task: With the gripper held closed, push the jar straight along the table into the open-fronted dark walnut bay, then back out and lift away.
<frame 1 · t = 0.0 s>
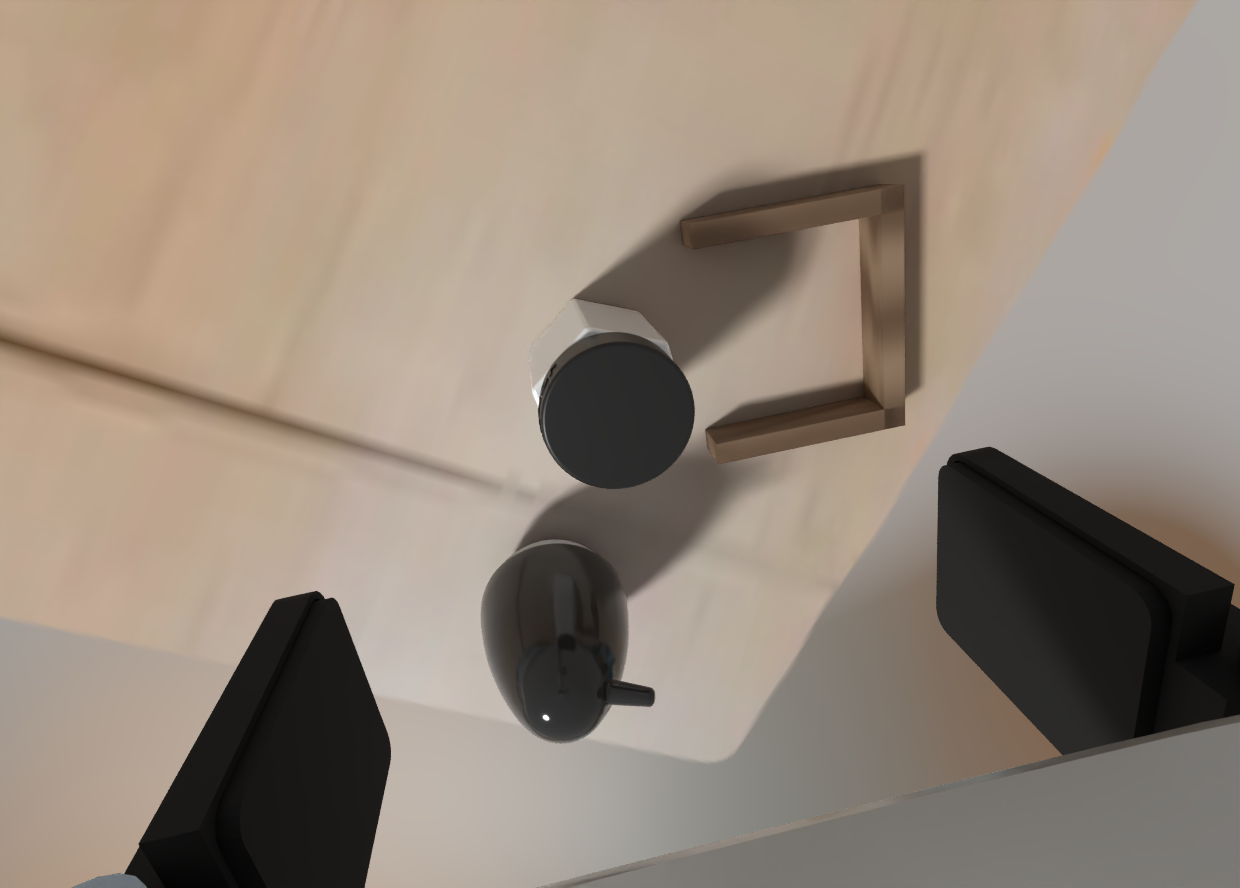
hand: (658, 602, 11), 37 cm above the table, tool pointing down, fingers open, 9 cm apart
pump dispenser: (552, 577, 53), on the table
jar: (593, 360, 47), on the table
walnut bay: (778, 325, 48), on the table
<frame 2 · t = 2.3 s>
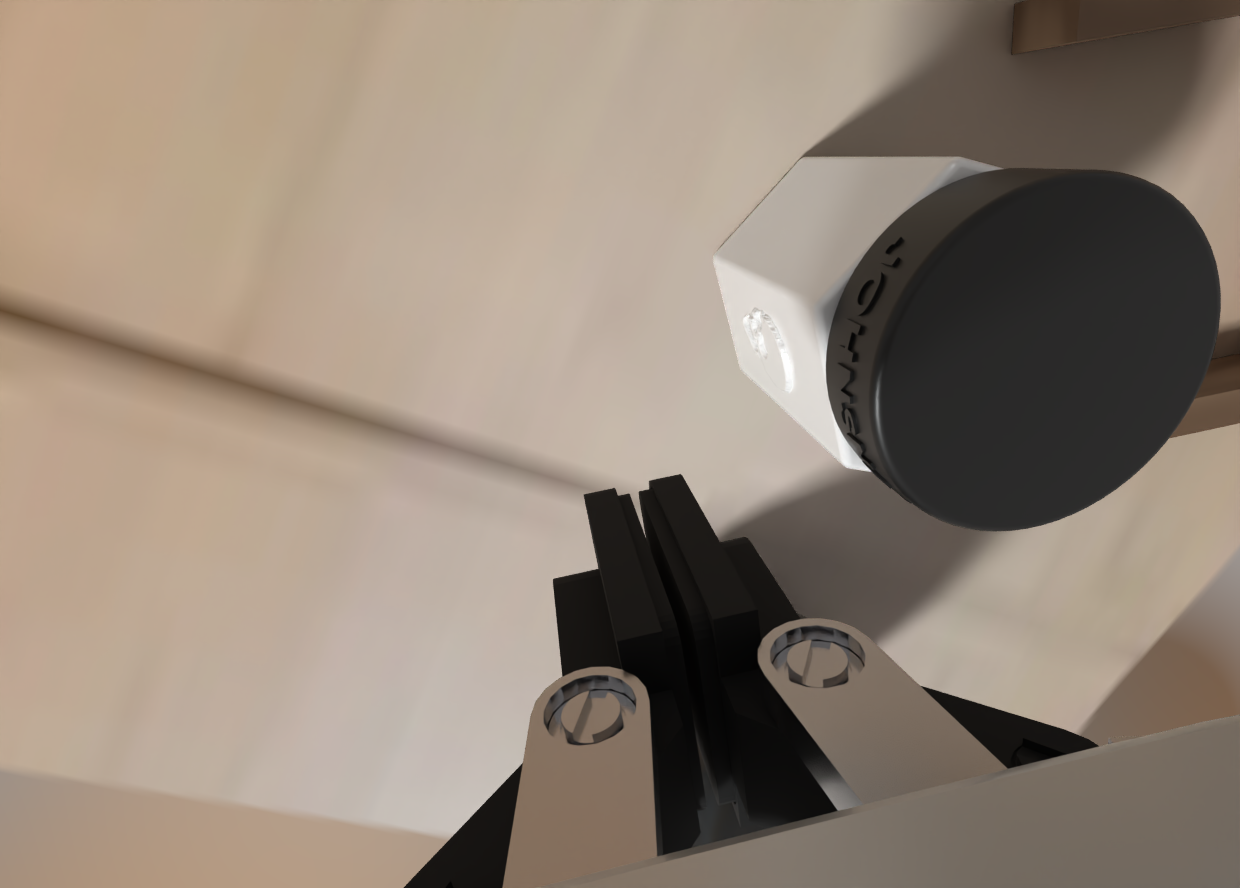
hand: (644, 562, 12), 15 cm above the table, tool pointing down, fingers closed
pump dispenser: (711, 649, 32), on the table
jar: (821, 279, 26), on the table
walnut bay: (1146, 219, 27), on the table
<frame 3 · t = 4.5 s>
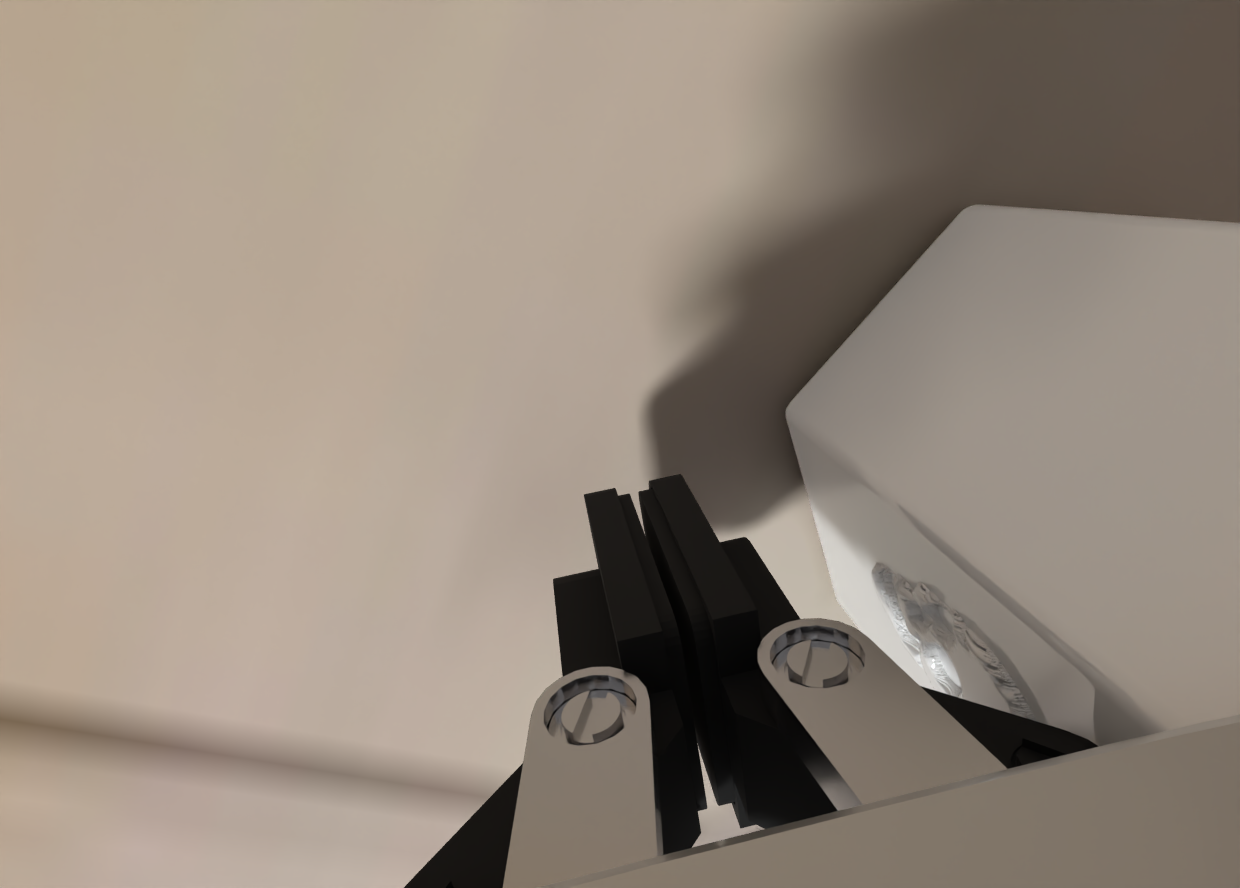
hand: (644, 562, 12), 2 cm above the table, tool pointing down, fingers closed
jar: (987, 429, 14), on the table, touching gripper
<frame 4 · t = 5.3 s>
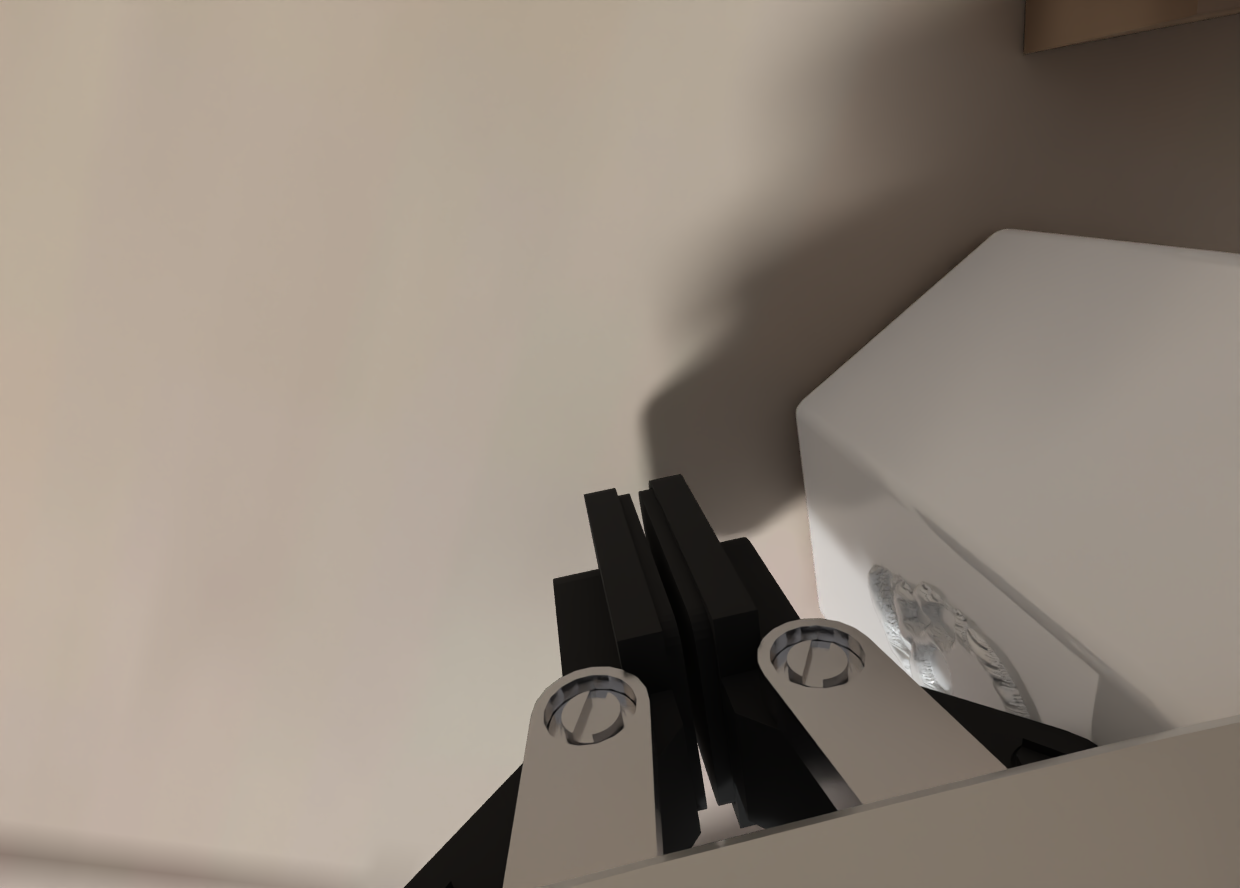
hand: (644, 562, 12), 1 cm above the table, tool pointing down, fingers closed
jar: (987, 457, 14), on the table, touching gripper
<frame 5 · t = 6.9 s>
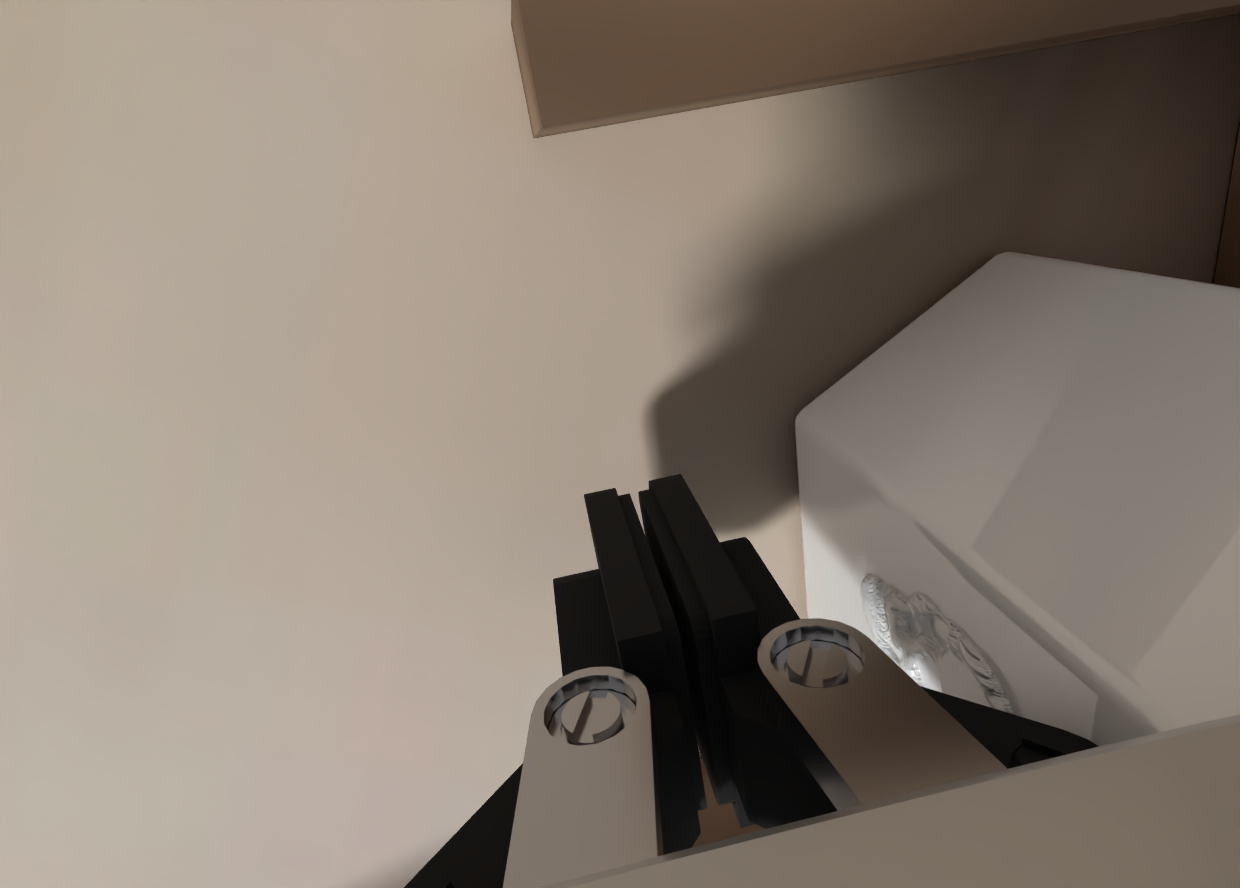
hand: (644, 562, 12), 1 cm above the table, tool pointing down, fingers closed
jar: (977, 474, 14), on the table, touching gripper
walnut bay: (911, 447, 13), on the table
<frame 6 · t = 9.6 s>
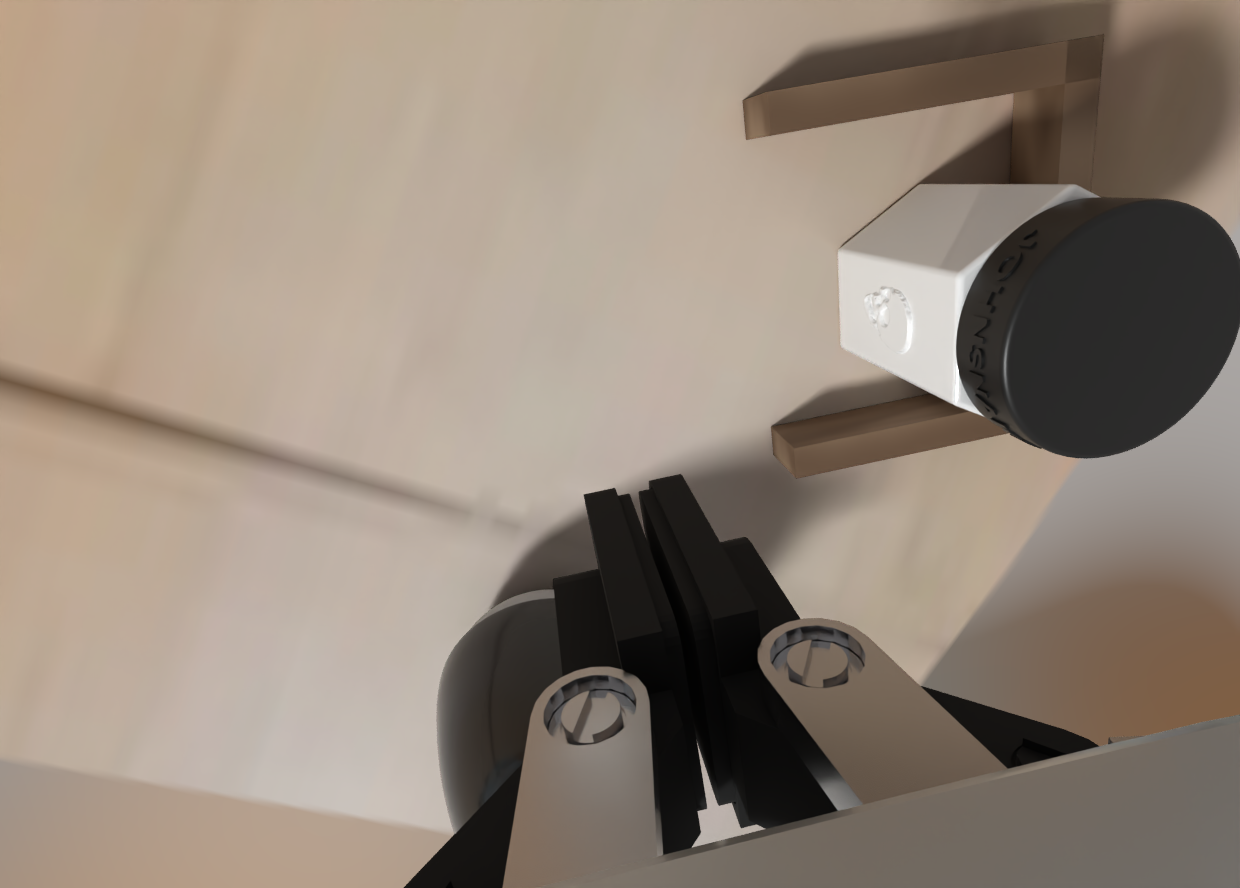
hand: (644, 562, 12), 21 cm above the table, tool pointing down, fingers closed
pump dispenser: (547, 640, 37), on the table
jar: (914, 284, 33), on the table
walnut bay: (885, 270, 32), on the table
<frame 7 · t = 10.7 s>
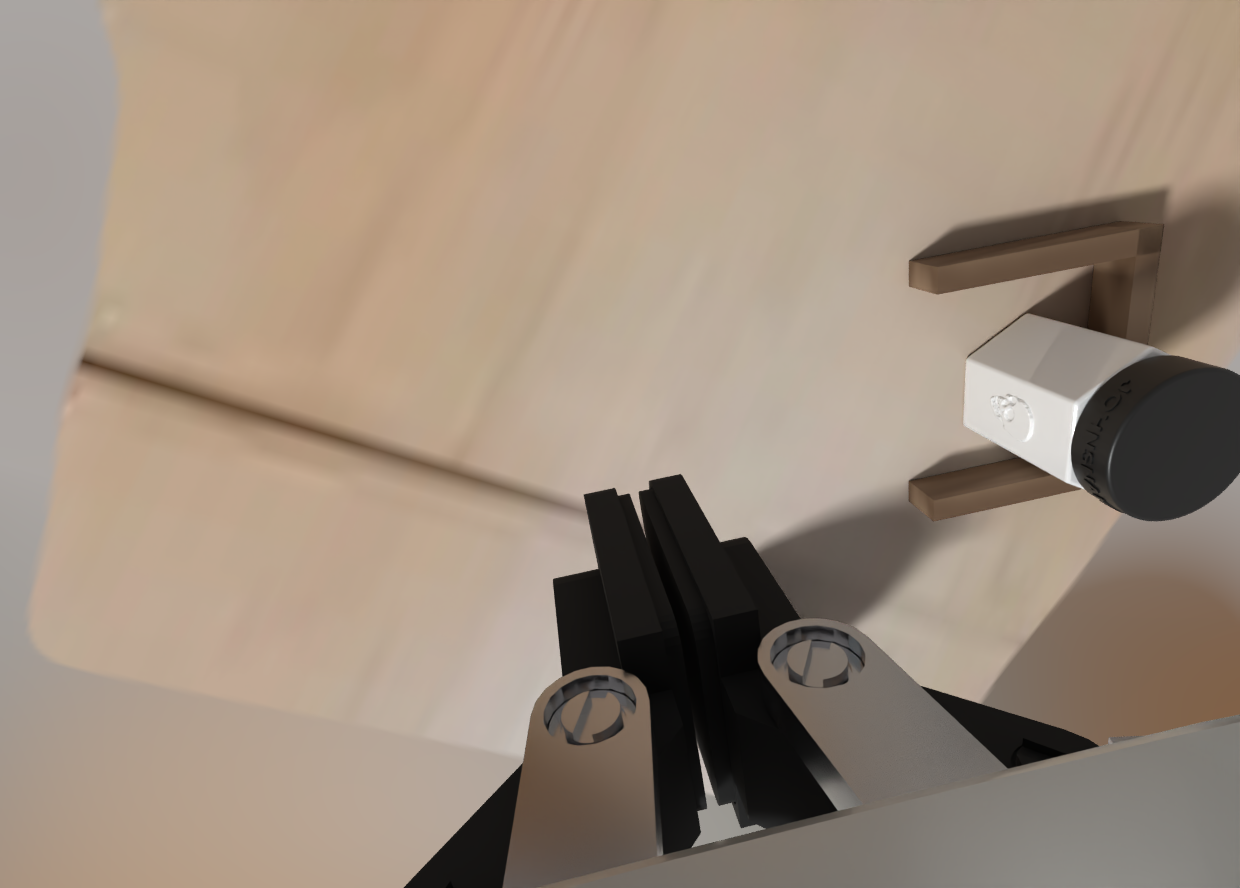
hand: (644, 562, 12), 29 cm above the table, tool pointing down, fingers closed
jar: (1017, 380, 45), on the table
walnut bay: (997, 371, 44), on the table
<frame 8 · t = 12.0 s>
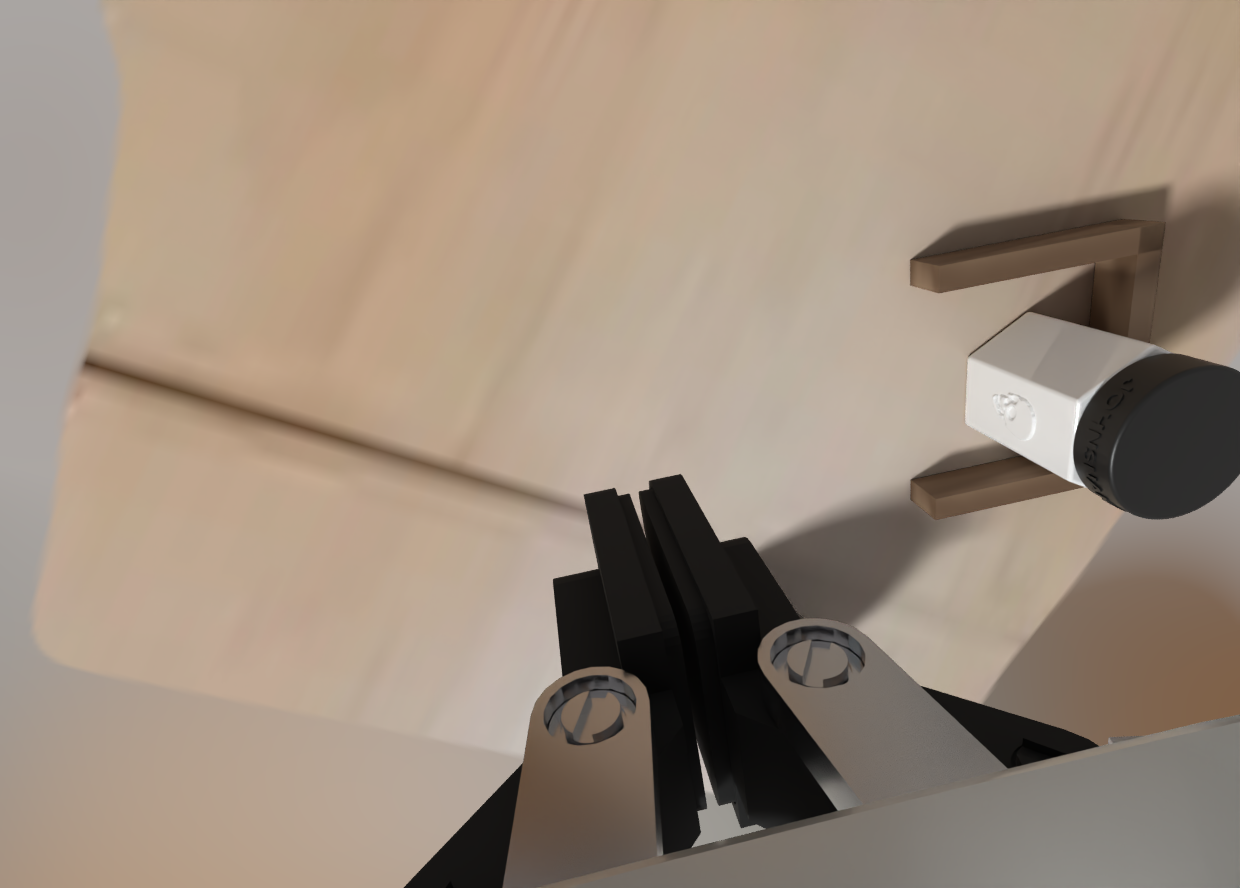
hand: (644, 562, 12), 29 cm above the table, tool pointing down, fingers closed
jar: (1019, 378, 45), on the table
walnut bay: (999, 369, 44), on the table
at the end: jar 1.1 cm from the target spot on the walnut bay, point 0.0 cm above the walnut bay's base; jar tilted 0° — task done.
